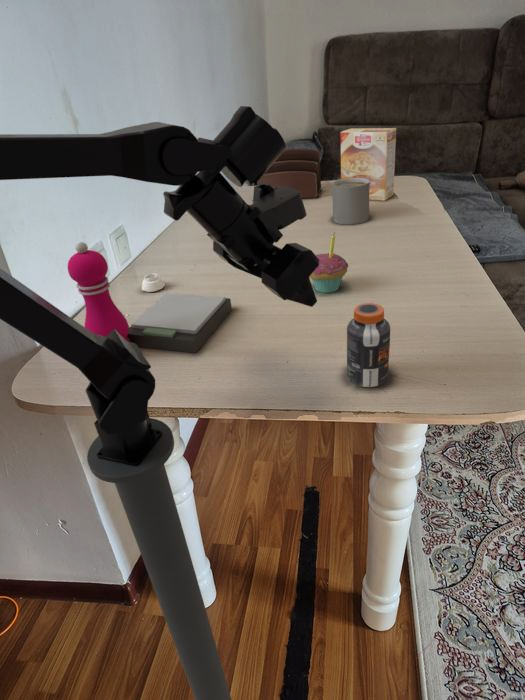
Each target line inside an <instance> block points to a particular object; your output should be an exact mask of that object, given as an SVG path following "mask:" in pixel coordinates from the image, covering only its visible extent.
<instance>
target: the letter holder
mask: <svg viewBox="0 0 525 700" xmlns="http://www.w3.org/2000/svg"><path fill="white" fill-rule="evenodd" d="M262 182H263V183H266V184H269V185H270V186H271V187H272V188H274V189H276V188H275V187H277V186H279V187H283V186H286V187H289V188H293V189H296V190H299V191H300V194H301V197H302V199H318V197H319V195H320V193H321V191H322V174H321V154H320V151H319V150H318V149H315V148H303V147H302V148H301V147H300V148H299V147H298V148H286V150H285V151H284V152H283V153H282V154H281V155H280V156H279V158H278V159H277V160H276V161H275V162H274V163H273V164H272V166H271V167H270V168H269V169H268V170H267V171H266V172H265V174H264V175H263V176H262V177H261V178H260V179H259V180H258V182H257V183H256V184H257V185H258V184H260V183H262ZM257 185H256V186H257Z"/></svg>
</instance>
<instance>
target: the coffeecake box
mask: <svg viewBox="0 0 525 700" xmlns="http://www.w3.org/2000/svg"><path fill="white" fill-rule="evenodd" d="M396 144H397V127H390V128H389V127H370V128H369V127H366V128H365V127H364V128H363V127H360V128H359V127H356V128H352V127H350V128H348V129H345V130H344V129H343V130H342V131H340V179H345V178H365V179H368V180H369V181H370V189H369V201H381V202H383V201H384V202H385V201H387V200H388V199H389V198H391V197H393V196H394V194H395V193H394V191H395V190H394V189H395V170H396V169H395V167H396Z"/></svg>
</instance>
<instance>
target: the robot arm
mask: <svg viewBox="0 0 525 700" xmlns="http://www.w3.org/2000/svg"><path fill="white" fill-rule="evenodd" d="M286 149H287V145H286V142H285V139H284V137H283V136H282V135H281V133H280V132H279V130H278V129H277V128H275V127H273V126H272V125H271V124H270V123H269V122H268V121H266V119H264V118H263V117H261V116H260V115H258V114H256V112H255V111H254V109H253V108H252V107H251V106H247V105H246V106H245V105H240V106H239V108H237V110H236V111H235V112H234V113H233V115H232V117H231V119H230V121H229V122H228V123H227V124H226V125H225V126H224V127H223V129H222V130H221V131H219V133H218V134H217V135H216V137H214V138H213V139H209V138H204V137H198V138H197V137H196V136H195V135H194V133H193V132H192V131H191V130H190V129H188V128H187V127H185V126H182V125H176V124H170V123H166V122H160V121H152V122H147V123H141V124H137V125H131V126H127V127H123V128H119V129H116V130H115V129H114V130H112V131H108V132H103V133H80V134H79V133H69V134H68V133H49V134H48V133H47V134H46V133H43V134H42V133H41V134H40V133H38V134H35V133H31V134H30V133H29V134H28V133H27V134H23V133H22V134H21V133H19V134H15V133H14V134H13V133H12V134H11V133H10V134H6V133H5V134H0V181H11V180H13V181H14V180H37V179H38V180H39V179H59V178H62V179H63V178H84V177H86V178H88V177H108V176H109V177H110V176H111V177H116V178H117V177H118V178H125V179H130V180H136V181H139V182H140V181H141V182H146V183H153V184H159V185H165V186H166V185H167V186H174V187H175V186H177V188H176V189H175V190H173V191H166V190H165V191H163V194H162V195H163V198H164V203H163V204H164V205H163V213H164V215H166V216H168V217H169V218H171V219H172V220H174V221H179V220H180V219H181V218H182V216H184V215H185V213H186V212H187V213H188V215H190V216H191V218H193V219H194V220H195V221H196V222H197V223H198V224H199V226H201V228H203V230H205V232H207V234H206V236H208V237H209V239H211V241H212V251H213V252H214V253H215V254H216V255H217V256H218V257H219V258H220V259H221V260H223V261H224V262H226V263H227V264H229V265H230V266H232V267H233V268H235V269H237V270H240V271H242V272H244V273H247V274H249V275H251V276H254V277H257V278H259V279H261V284H263V285H264V287H265V288H267V289H268V290H269V291H270V292H271V293H272V294H274V295H275V296H277V297H278V298H279V299H282V300H283V301H291V302H295V303H298V304H301V305H303V306H304V305H305V306H307V307H311V308H312V307H314V306H315V305H316V304H317V302H318V299H317V296H316V293H315V290H314V289H313V288H314V287H313V284H312V283H311V282H312V281H311V277H309V276H310V275H311V274H312V273H313V272H314V270H315V269H316V268H317V267H318V266H319V259H318V258H317V257H316V255H317V254H315V252H313V250H312V249H310V248H307V247H306V246H304V245H301V244H299V243H297V242H290V243H289V242H288V243H285V244H284V246H283V247H282V248H281V247H278V246H277V245H275V244H274V243H278V242H279V241H280V240H281V239H282V238H283V236H284V234H283V233H282V232H281V230H283V229H286V228H287V227H288V226H290V225H292V224H294V223H295V222H297V221H298V220H299V221H302V220H303V219H305V218H306V217H307V211H306V207H305V204H304V200H303V198H302V197H301V194H300V191H299V190H296V189H293V188H289V187H286V186H283V187H279V186H277V187H275V188H276V189H274V188H272V187H271V186H270V185H269V184H266V183H263V182H262V183H260V184H258V185H256V184H257V182H258V180H259V179H260V178H261V177H262V176H263V175H264V174H265V172H266V171H267V170H268V169H269V168H270V167H271V166H272V164H273V163H274V162H275V161H276V160H277V159H278V158H279V156H280V155H281V154H282V153H283V152H284V151H285V150H286ZM223 175H224V176H225V177H226V178H227V179H226V178H225V177H224V176H223ZM228 180H229V181H230V182H231V183H232V184H234V185H235V186H237V187H238V188H242V187H243V186H244V184H246V185H248V186H250V187H253V195H252V203H251V204H248V203H247V202H246V201H245V200H244V199H243V197H242V196H241V195H240V194H239V193H238V192H237V190H236V189H235V188H234V187H233V185H232V184H230V182H229V181H228ZM0 321H2V322H4V323H6V324H7V325H8V326H10V327H12V328H14V329H15V330H17V331H18V332H20V333H21V334H23V335H24V336H26V337H28V338H29V339H31V340H33V341H34V342H36V343H38V345H40V346H42V347H44V348H45V349H46V350H48V351H50V352H52V353H53V354H55V355H56V356H58V357H60V358H61V359H63V360H64V361H66V362H67V363H69V364H71V365H72V366H73V367H75V368H76V369H78V370H79V371H80V372H81V373H82V375H83V376H84V377H85V378H86V379H87V380H88V382H89V383H88V384H87V386H86V388H85V393H86V396H87V398H88V401H89V404H90V407H91V408H92V411H93V413H94V416H95V419H96V420H95V422H94V423H93V424H94V427H95V430H96V433H97V435H98V436H99V438H100V441H101V443H102V446H103V447H102V448H101V450H100V451H99V452H98V453H97V457H98V458H99V459H103V460H107V461H112V462H117V463H122V464H126V465H131V466H139V465H140V464H141V462H142V461H143V460H144V458H145V457H146V456H147V454H148V453H149V452H150V450H151V449H152V448H153V446H154V445H155V444H156V442H157V441H158V440H159V438H160V437H161V436H162V431H160V430H155V429H151V427H152V425H151V421H150V418H151V417H150V414H149V411H148V408H149V407H148V406H149V401H150V399H151V398H152V396H153V395H154V392H155V389H156V378H155V376H154V375H153V373H152V372H151V370H150V369H151V368H152V366H151V365H150V363H149V361H148V360H147V359H146V357H145V355H144V354H143V352H142V351H141V349H140V347H138V346H137V345H136V344H135V343H131V342H128V341H127V340H125V339H124V338H123V337H122V336H121V335H120V334H119V333H118V332H117V331H116V330H115V329H113V330H112V331H111V333H110V334H109V336H108V337H104V336H100V335H96V334H94V333H92V332H90V331H89V330H87V329H86V328H85V326H83V325H82V324H81V323H79V322H78V321H76V320H75V319H74V318H72V317H71V316H69V315H68V314H67V313H65V312H64V311H62V310H61V309H59V308H58V307H57V306H55V305H54V304H52V303H51V302H49V301H48V300H46V299H45V298H44V297H42V296H41V295H39V293H36V292H35V291H34V290H32V289H31V288H30V287H28V286H26V285H25V284H24V283H22V282H21V281H20V280H18V279H16V278H15V277H13V276H12V275H11V274H9V273H8V272H7V271H6V270H4V269H2V268H1V267H0Z"/></svg>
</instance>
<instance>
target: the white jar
mask: <svg viewBox="0 0 525 700" xmlns="http://www.w3.org/2000/svg"><path fill="white" fill-rule="evenodd" d="M165 285H166V284H165V282H164V280H163V279H162V278H161V277H160V276H159V275H158V273H148V274H146V275H144V276H143V280H142V283H141V290H142V291H143V292H147V293H153V292H158V291H159V290H161V289H163V288H164V287H165Z"/></svg>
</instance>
